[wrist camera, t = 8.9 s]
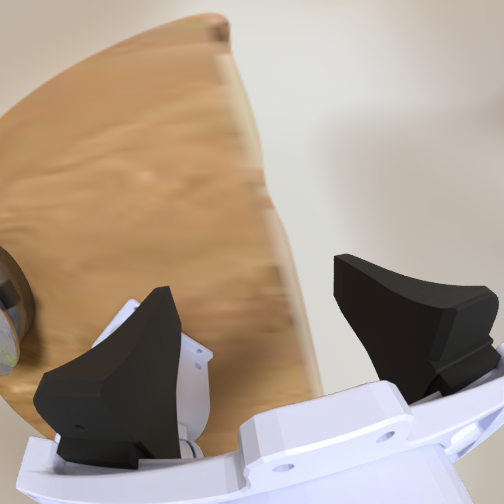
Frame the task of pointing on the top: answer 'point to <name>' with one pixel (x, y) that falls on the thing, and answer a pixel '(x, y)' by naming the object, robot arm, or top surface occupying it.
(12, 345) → the cooker lid
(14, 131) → the top surface
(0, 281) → the cooker pot
